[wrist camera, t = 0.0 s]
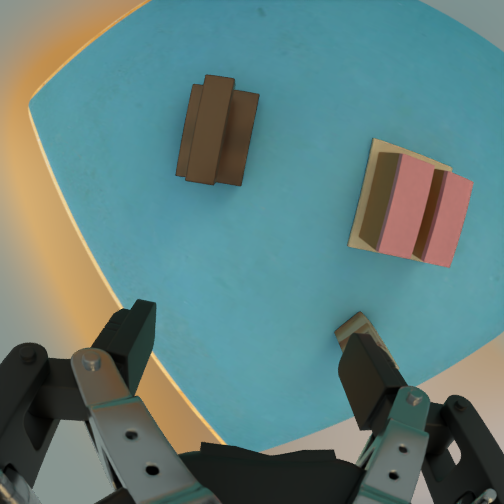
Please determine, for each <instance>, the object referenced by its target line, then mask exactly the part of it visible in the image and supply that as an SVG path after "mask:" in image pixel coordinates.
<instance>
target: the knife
mask: <svg viewBox="0 0 504 504" xmlns="http://www.w3.org/2000/svg"><path fill="white" fill-rule="evenodd" d="M234 90H235V79H234V78H228V77H222V76H215V75H205V80H204V84H203V89H202V93H201V98H200V103H199V107H198V112H197V117H196V122H195V127H194V133H193V138H192V143H191V149H190V154H189V160H188V166H187V172H186V178H185V181H189V182H196V183H202V184H208V185H214V184H215V183H216V181H217V175H218V170H219V165H220V159H221V154H222V149H223V143H224V138H225V133H226V128H227V123H228V118H229V113H230V109H231V104H232V99H233V94H234Z"/></svg>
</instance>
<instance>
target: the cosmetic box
mask: <svg viewBox="0 0 504 504" xmlns="http://www.w3.org/2000/svg"><path fill="white" fill-rule="evenodd" d="M334 333H335V335H336V338H337V340H338V342H339V345H340V347H341V349H342V352H344V350H345V347H346V345H347V342H348V340H349V337H350V335H351V334H352V333H365V334H370V335H371V336H372V338H373V339H374V341H375V342H376V344H377V346H380V347H381V348H382V349H383V350H384V351H386V352H387V353H388V355H389V356H390V358H391V360H392V362H393V363H394V364H395V366H396V368H397V369H398V370H399V367H398V365H397V364H396V362H395V360H394V359H393V357H392V355H391V354H390V352H389V350H388V349H387V347H386V345H385V344H384V342H383V341H382V339H381V337H380V336H379V334H378V333H377V331H376V329H375V328H374V327H373V325H372V324H371V323H370V321H369V320H368V319H367V318H366V317H365V315H364V314H363V313H362V312H358V313H357V314H356V315H354V316H353V317H352V318H351V319H349V320H348V321H347V322H346V323H344V324H343V325H342V326H341V327H339V328H338V329H337V330H336V331H335V332H334Z"/></svg>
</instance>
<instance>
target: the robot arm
mask: <svg viewBox="0 0 504 504" xmlns="http://www.w3.org/2000/svg"><path fill="white" fill-rule="evenodd" d="M155 323H156V303H155V302H150V301H146V300H141V299H137V300H136V302H135V304H134V305H133V307H132V308H131V310H129V309H124V308H123V309H121V310H119V311H118V312H116V313H114V314H113V315H112V317H111V318H110V320H109V322H108V323H107V324H106V325H105V328H103V330H102V331H101V333H100V334H99V336H98V337H97V339H96V340H95V342H94V343H93V344H92V346H91V347H90V348H84V349H81V350H78V351H77V352H75V353H74V354H73V356H72V357H71V359H56V358H48V354H47V351H46V349H45V348H44V347H43V346H41V345H39V344H36V343H23V344H20V345H17V346H16V347H14V348H13V349H12V350H11V352H10V353H9V354H8V355H7V357H6V358H5V359H4V360H3V362H2V363H1V364H0V504H41V502H40V500H39V499H38V497H37V496H36V494H35V493H34V492H33V490H32V488H33V486H34V483H35V480H36V478H37V475H38V472H39V470H40V467H41V465H42V462H43V460H44V457H45V455H46V452H47V450H48V447H49V445H50V443H51V440H52V438H53V436H54V433H55V431H56V429H57V427H58V424H59V422H60V420H61V419H63V420H77V421H83V422H84V424H85V426H86V429H87V432H88V434H89V437H90V439H91V441H92V444H93V446H94V448H95V450H96V453H97V455H98V457H99V459H100V462H101V464H102V466H103V469H104V471H105V474H106V476H107V478H108V480H109V483H110V484H111V486H112V488H113V490H114V492H113V493H112V494H110V495H108V496H107V497H105V498H103V499H101V500H100V501H98V502H96V503H94V504H411V499H412V497H413V493H414V490H415V487H416V484H417V481H418V478H419V474H420V471H422V473H423V476H424V478H425V481H426V484H427V486H428V489H429V491H430V494H431V497H432V499H433V502H434V504H504V454H503V452H502V450H501V449H500V447H499V445H498V444H497V442H496V441H495V439H494V437H493V436H492V434H491V433H490V431H489V429H488V428H487V426H486V425H485V423H484V422H483V420H482V419H481V417H480V416H479V414H478V413H477V411H476V410H475V408H474V407H473V405H472V404H471V402H470V401H468V400H467V399H466V398H464V397H462V396H459V395H451V396H449V397H448V398H447V400H446V401H445V403H444V404H438V403H433V402H430V399H429V397H428V395H427V394H426V393H425V392H424V391H422V390H420V389H419V388H417V387H414V386H408V385H407V383H406V382H405V380H404V378H403V377H402V375H401V374H400V372H399V371H398V369H397V368H396V366H395V364H394V363H393V362H392V360H391V358H390V356H389V355H388V353H387V352H386V351H384V350H383V349H382V348H381V347H380V346H377V344H376V342H375V341H374V339H373V338H372V336H371V335H370V334H365V333H352V334H351V335H350V337H349V340H348V342H347V345H346V347H345V350H344V352H343V354H342V357H341V359H340V362H339V366H338V375H339V378H340V380H341V383H342V385H343V388H344V390H345V393H346V395H347V398H348V401H349V403H350V406H351V408H352V411H353V414H354V416H355V419H356V421H357V424H358V427H359V429H360V430H372V432H373V433H372V434H371V436H370V437H369V439H368V441H367V443H366V445H365V447H364V449H363V451H362V453H361V455H360V456H359V458H358V460H357V462H356V464H353V463H350V462H347V461H344V460H340V459H336V456H335V452H334V450H301V451H296V452H291V453H285V454H280V455H273V456H272V455H271V456H270V455H266V454H262V453H258V452H254V451H251V450H247V449H244V448H240V447H237V446H230V445H221V444H213V443H206V442H201V448H200V451H192V452H186V453H182V454H177V453H176V452H175V450H174V449H173V447H172V446H171V444H170V443H169V442H168V440H167V439H166V437H165V436H164V434H163V433H162V431H161V430H160V428H159V427H158V425H157V424H156V422H155V420H154V419H153V417H152V416H151V414H150V412H149V411H148V409H147V408H146V406H145V404H144V403H143V401H142V400H141V398H140V397H139V396H135V393H136V390H137V388H138V385H139V382H140V380H141V377H142V375H143V372H144V369H145V367H146V364H147V362H148V359H149V357H150V354H151V352H152V349H153V345H154V339H155ZM454 439H455V441H456V443H457V445H458V447H459V449H460V451H461V459H460V461H459V463H458V464H457V465H455V463H454V461H453V459H452V457H451V454H450V452H449V451H448V449H447V448H448V447H449V445H450V444H451V443H452V442H453V441H454Z"/></svg>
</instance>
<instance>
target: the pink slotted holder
mask: <svg viewBox="0 0 504 504" xmlns="http://www.w3.org/2000/svg"><path fill="white" fill-rule="evenodd" d="M472 187H473V182H472V181H470V180H468V179H466V178H463V177H461V176H459V175H457V174H454V173H452V167H449V166H447V165H445V164H442V163H440V162H438V161H435V160H433V159H430V158H428V157H425V156H423V155H420V154H418V153H415V152H412V151H410V150H407V149H404V148H402V147H399V146H396V145H393V144H390V143H387V142H384V141H382V140H379V139H376V138H373V139H372V144H371V149H370V154H369V158H368V163H367V168H366V172H365V176H364V181H363V185H362V189H361V194H360V198H359V202H358V206H357V210H356V214H355V218H354V222H353V226H352V229H351V233H350V237H349V240H348V244H347V246H348V247H353V248H358V249H363V250H368V251H373V252H378V253H382V254H387V255H392V256H397V257H402V258H406V259H411V260H416V261H420V262H425V263H430V264H435V265H440V266H444V267H449V268H450V265H451V262H452V259H453V256H454V253H455V250H456V247H457V244H458V240H459V237H460V234H461V230H462V227H463V223H464V219H465V216H466V212H467V208H468V204H469V200H470V195H471V191H472Z"/></svg>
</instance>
